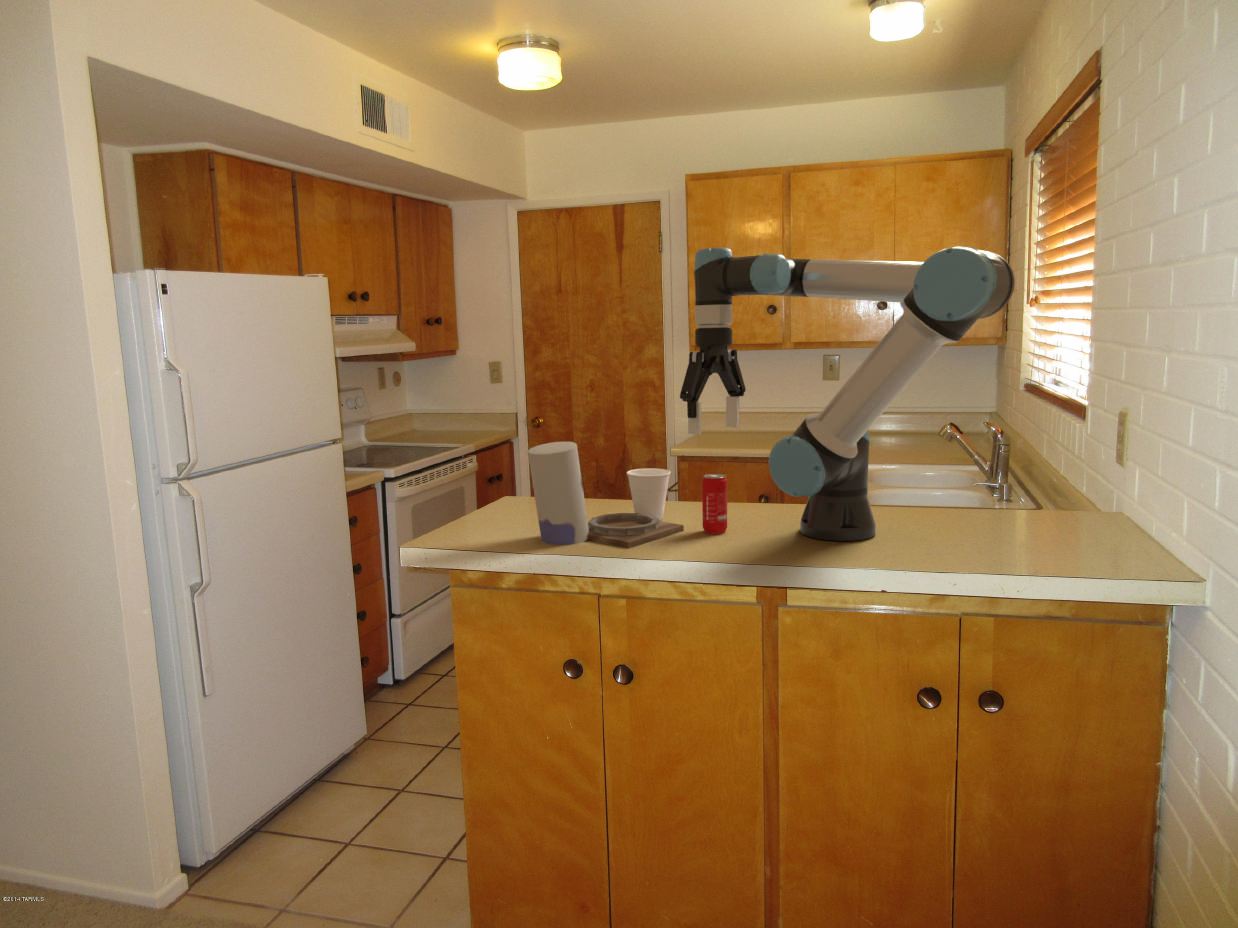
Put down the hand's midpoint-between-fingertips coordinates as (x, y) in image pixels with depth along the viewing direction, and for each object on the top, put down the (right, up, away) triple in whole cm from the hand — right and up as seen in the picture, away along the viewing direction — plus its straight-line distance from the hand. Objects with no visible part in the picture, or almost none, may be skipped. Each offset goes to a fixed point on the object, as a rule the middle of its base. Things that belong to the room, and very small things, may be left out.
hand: (714, 430), depth 176 cm
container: (-31, -23, +1) cm, 38 cm away
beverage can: (+1, -21, +3) cm, 22 cm away
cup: (-13, -20, +16) cm, 28 cm away
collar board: (-19, -21, +4) cm, 29 cm away
